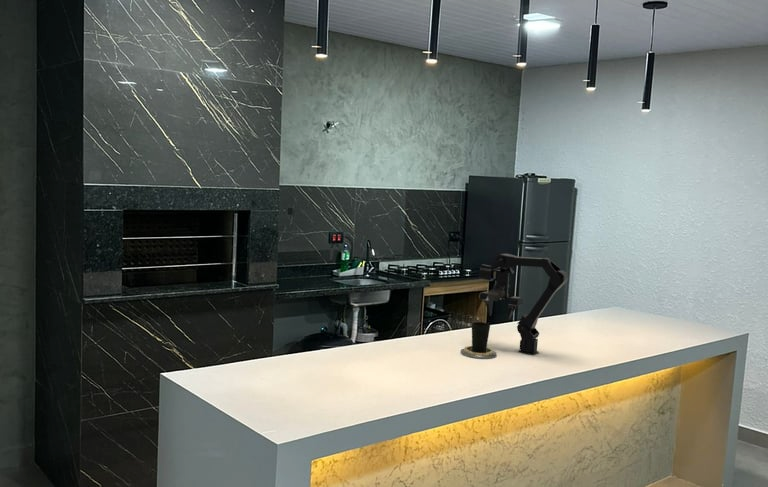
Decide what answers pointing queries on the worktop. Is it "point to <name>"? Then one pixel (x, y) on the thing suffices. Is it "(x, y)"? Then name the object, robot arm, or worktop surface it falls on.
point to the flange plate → (478, 353)
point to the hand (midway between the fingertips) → (499, 317)
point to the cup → (480, 336)
